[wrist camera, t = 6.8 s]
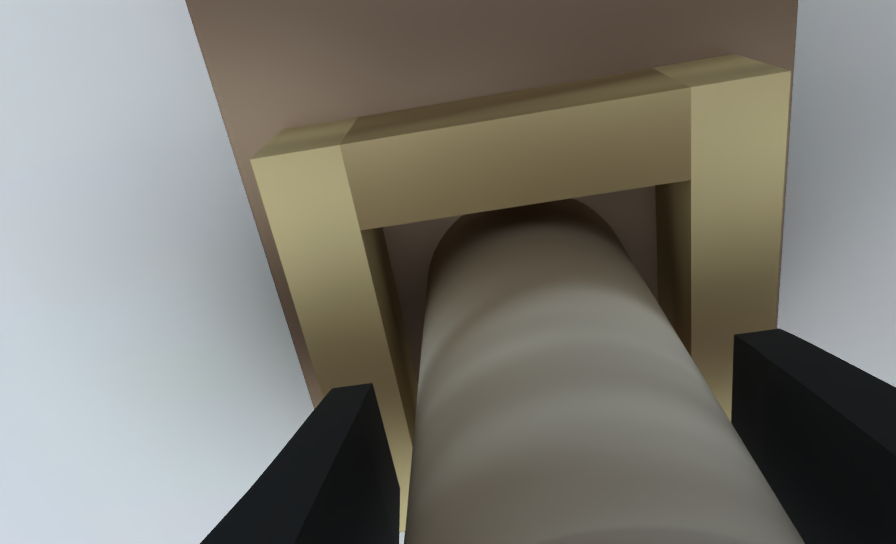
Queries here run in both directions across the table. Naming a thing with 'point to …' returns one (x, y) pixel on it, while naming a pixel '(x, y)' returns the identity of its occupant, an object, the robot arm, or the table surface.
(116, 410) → the table surface
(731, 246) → the dock
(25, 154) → the table surface
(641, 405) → the beige cylinder
